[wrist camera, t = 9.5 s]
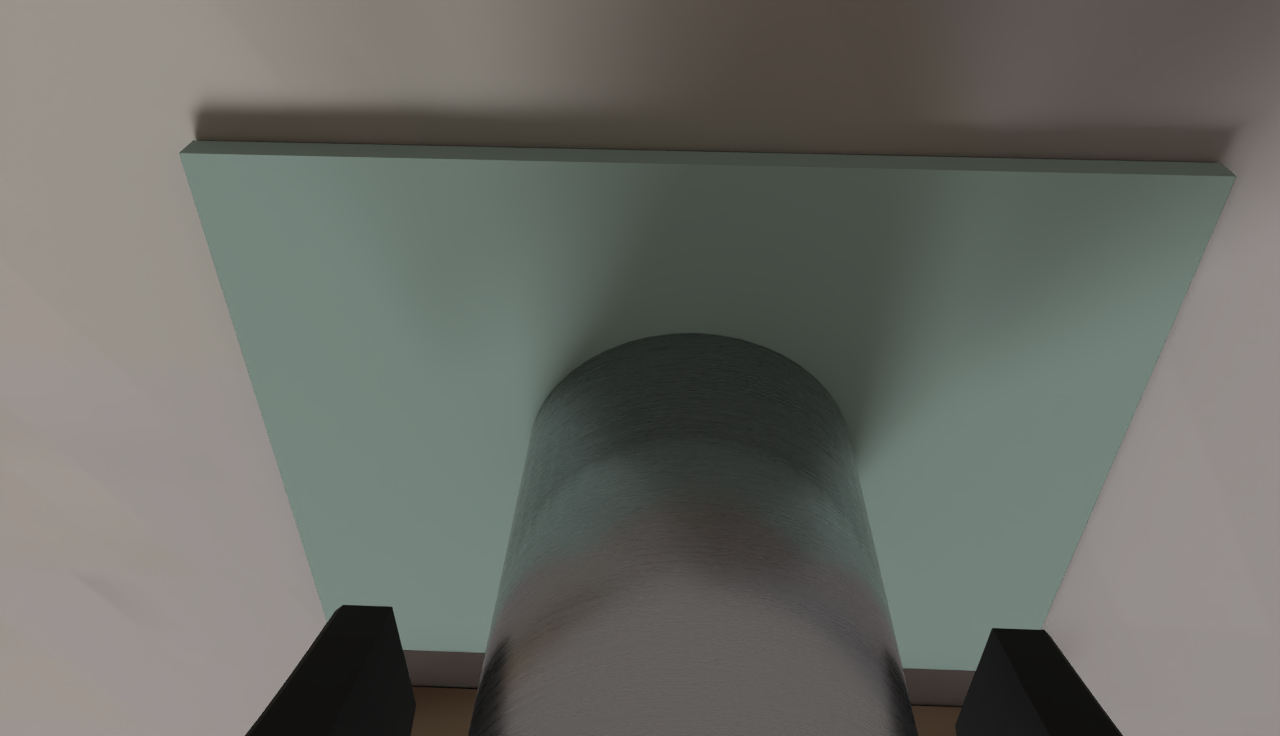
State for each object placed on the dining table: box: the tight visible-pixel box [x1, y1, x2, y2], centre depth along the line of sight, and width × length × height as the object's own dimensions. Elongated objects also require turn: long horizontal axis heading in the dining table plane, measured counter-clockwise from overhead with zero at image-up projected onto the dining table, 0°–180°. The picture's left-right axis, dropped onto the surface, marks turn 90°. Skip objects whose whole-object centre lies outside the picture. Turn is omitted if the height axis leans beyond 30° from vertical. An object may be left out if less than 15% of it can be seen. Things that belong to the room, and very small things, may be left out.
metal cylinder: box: [468, 333, 918, 736], centre depth 11 cm, size 5×5×8 cm
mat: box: [179, 141, 1237, 671], centre depth 14 cm, size 13×10×1 cm
